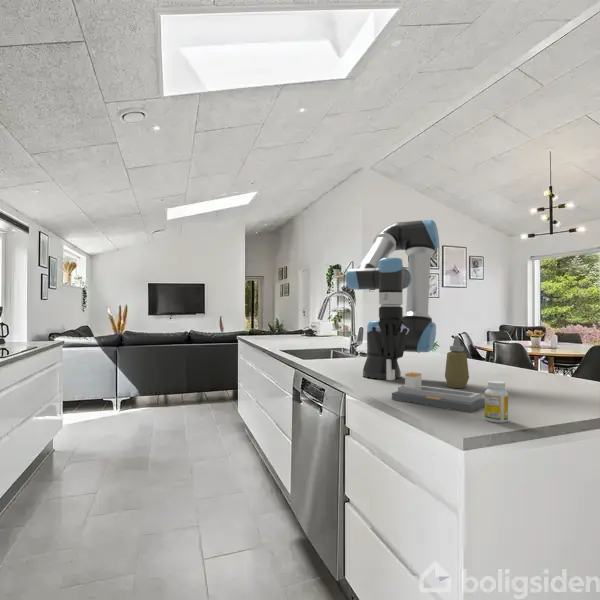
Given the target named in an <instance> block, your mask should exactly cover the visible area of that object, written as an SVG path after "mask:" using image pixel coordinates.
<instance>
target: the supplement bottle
mask: <svg viewBox="0 0 600 600" xmlns="http://www.w3.org/2000/svg"><path fill="white" fill-rule="evenodd" d="M487 387H488V388H487V389H485V391H484V398H485V406H484V420H485V421H487V422H491V423H497V424H502V423H506V422H508V420H509V392H508V391H507V390H505V389H506V382H505V381H502V380H501V381H500V380H488V381H487Z"/></svg>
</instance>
